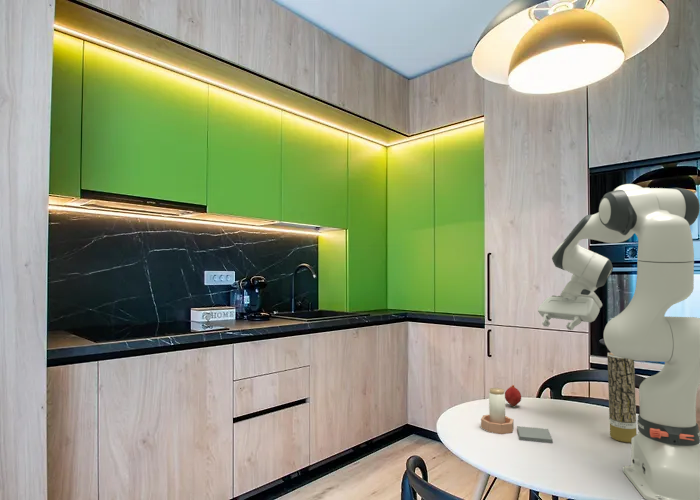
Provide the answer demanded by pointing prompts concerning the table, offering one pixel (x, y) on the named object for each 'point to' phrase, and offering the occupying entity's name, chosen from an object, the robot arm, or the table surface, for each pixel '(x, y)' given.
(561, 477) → the table surface
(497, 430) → the terracotta dish
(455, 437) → the table surface
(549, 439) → the slate coaster
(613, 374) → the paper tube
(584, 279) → the robot arm
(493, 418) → the spice jar
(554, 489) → the table surface
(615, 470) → the table surface
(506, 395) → the onion
